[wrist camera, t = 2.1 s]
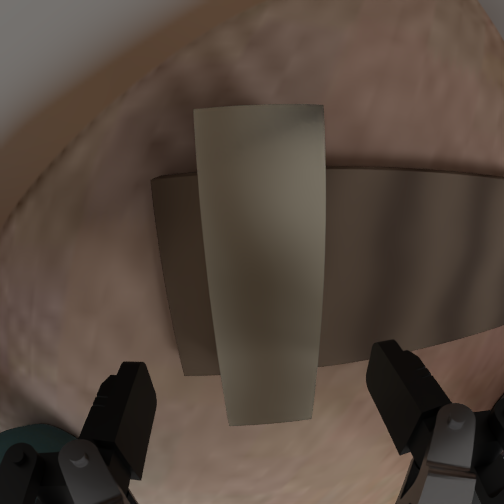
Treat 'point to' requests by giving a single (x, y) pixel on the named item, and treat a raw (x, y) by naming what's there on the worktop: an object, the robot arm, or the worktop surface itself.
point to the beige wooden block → (264, 253)
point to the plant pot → (35, 438)
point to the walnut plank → (361, 261)
